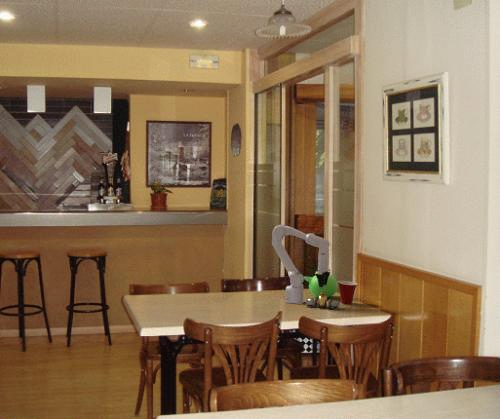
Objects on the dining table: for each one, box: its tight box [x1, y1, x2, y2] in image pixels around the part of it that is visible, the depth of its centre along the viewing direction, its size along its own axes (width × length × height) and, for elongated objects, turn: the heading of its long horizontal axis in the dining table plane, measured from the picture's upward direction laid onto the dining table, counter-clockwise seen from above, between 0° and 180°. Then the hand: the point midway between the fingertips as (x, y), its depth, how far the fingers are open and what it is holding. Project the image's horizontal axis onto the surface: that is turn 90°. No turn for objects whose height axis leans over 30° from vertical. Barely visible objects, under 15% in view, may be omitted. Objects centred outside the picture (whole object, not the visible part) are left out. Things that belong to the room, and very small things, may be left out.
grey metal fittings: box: [305, 297, 340, 311], centre depth 384 cm, size 17×6×5 cm, turn 70°
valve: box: [317, 293, 328, 308], centre depth 384 cm, size 4×4×8 cm
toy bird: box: [303, 270, 339, 298], centre depth 415 cm, size 18×17×15 cm
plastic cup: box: [337, 280, 358, 305], centre depth 399 cm, size 11×11×12 cm
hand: (322, 286), depth 395 cm, fingers open, 7 cm apart
